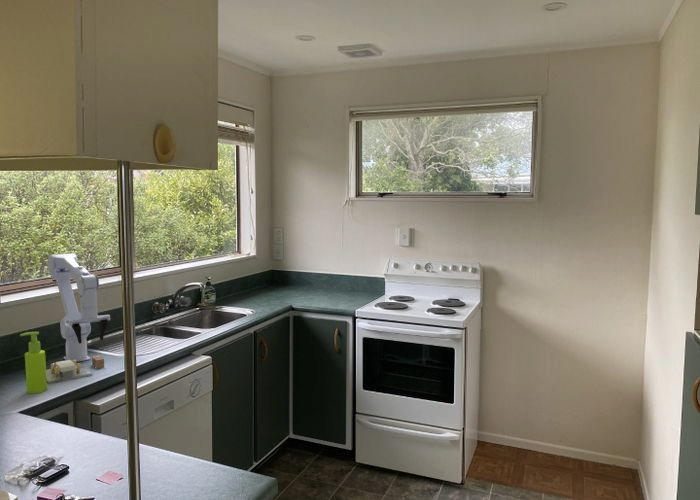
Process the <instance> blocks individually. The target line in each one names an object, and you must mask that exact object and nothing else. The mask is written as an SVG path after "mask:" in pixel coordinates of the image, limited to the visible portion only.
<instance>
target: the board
mask: <svg viewBox="0 0 700 500" xmlns="http://www.w3.org/2000/svg"><path fill="white" fill-rule="evenodd" d="M54 363H55V367H58V370H59V371H60V372H65V371H70V370H76V365H75V364H74V363H73V362H72V361H71V360H61V361H56V362H54Z"/></svg>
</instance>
